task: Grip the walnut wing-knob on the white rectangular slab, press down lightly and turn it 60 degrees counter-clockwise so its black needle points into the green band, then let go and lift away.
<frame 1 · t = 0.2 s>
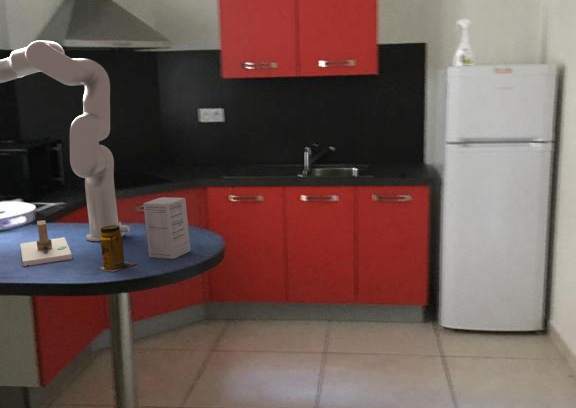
supplement box: (170, 254, 202), on the countertop
white rectangular slab: (45, 253, 211), on the countertop
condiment: (117, 267, 192), on the countertop
tuning knob: (43, 236, 208), point 6 cm above the countertop, hinge at 0.0°
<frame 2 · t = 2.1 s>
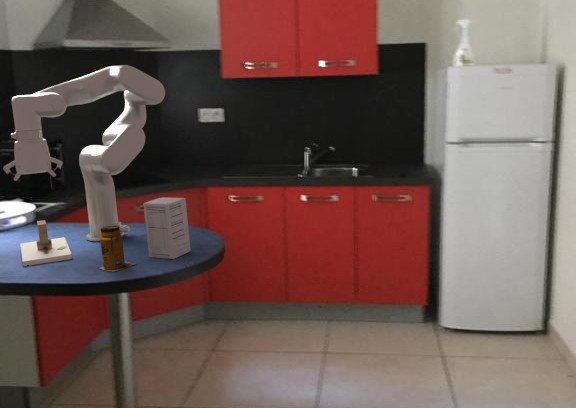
hand: (36, 190, 207), 20 cm above the countertop, fingers open, 9 cm apart
nothing on the countertop moved.
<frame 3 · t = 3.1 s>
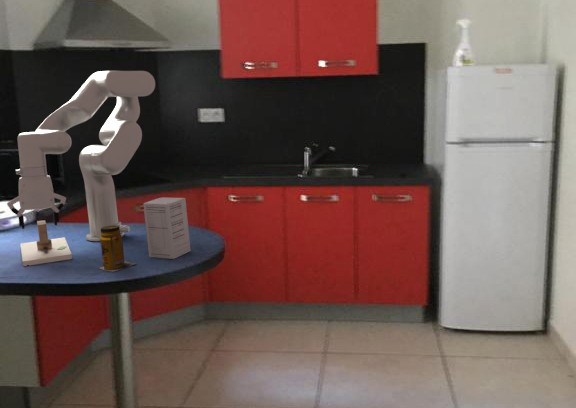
hand: (39, 226, 208), 9 cm above the countertop, fingers open, 9 cm apart
nothing on the countertop moved.
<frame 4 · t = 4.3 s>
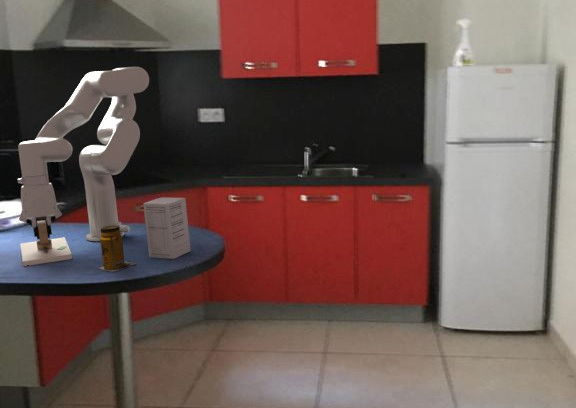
hand: (43, 237, 210), 5 cm above the countertop, fingers closed on tuning knob, 2 cm apart
tuning knob: (43, 236, 208), point 6 cm above the countertop, hinge at 0.0°, touching gripper
everything else where it was.
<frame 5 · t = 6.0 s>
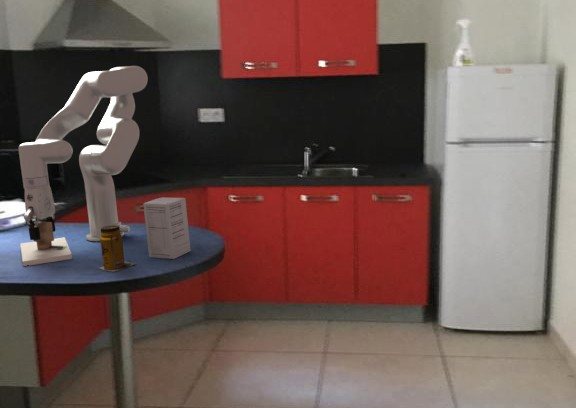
hand: (43, 235, 209), 6 cm above the countertop, fingers open, 9 cm apart
tuning knob: (48, 235, 209), point 6 cm above the countertop, hinge at 46.1°
everything else where it was.
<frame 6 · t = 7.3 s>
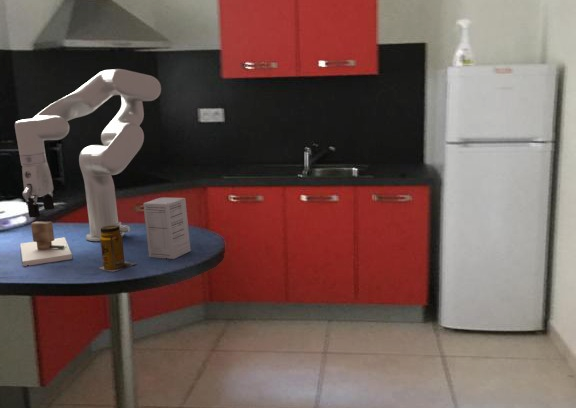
hand: (42, 213, 209), 13 cm above the countertop, fingers open, 9 cm apart
tuning knob: (48, 235, 209), point 6 cm above the countertop, hinge at 50.9°
everything else where it was.
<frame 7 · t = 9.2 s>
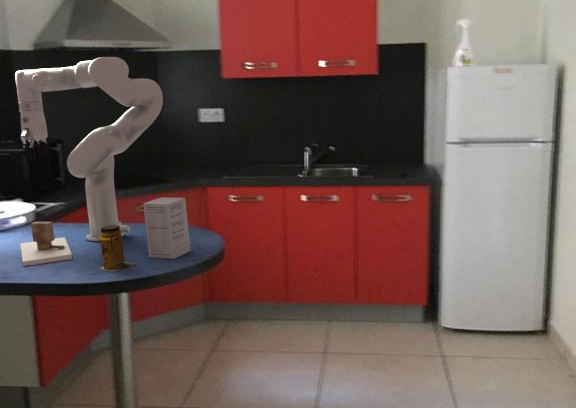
hand: (36, 157, 228), 28 cm above the countertop, fingers open, 9 cm apart
tuning knob: (48, 235, 209), point 6 cm above the countertop, hinge at 52.2°
everything else where it was.
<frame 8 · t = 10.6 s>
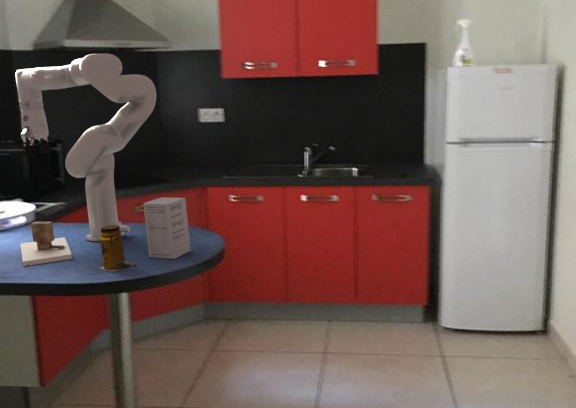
hand: (37, 155, 231), 28 cm above the countertop, fingers open, 9 cm apart
nothing on the countertop moved.
at the end: tuning knob at +52° (first picture: +0°); the gripper is holding nothing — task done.
